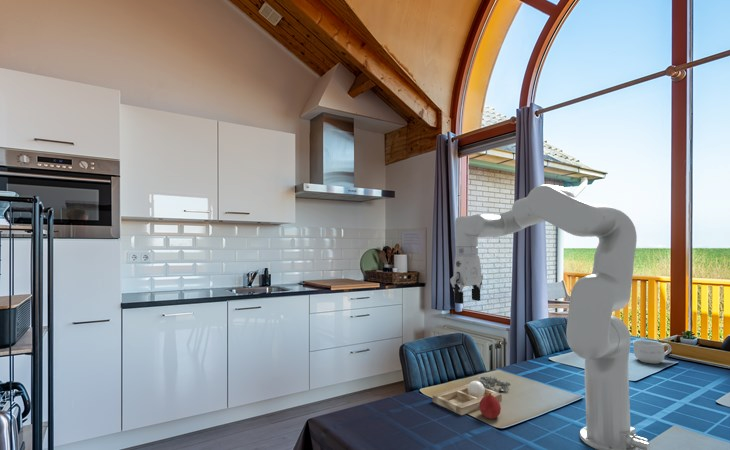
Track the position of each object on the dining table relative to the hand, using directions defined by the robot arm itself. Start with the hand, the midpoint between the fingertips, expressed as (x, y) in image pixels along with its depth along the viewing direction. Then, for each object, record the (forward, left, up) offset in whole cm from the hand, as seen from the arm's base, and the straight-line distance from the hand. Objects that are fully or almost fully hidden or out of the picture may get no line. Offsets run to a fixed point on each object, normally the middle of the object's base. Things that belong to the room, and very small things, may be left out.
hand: (467, 301), depth 136 cm
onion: (-19, +13, -30) cm, 38 cm away
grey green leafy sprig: (-5, -7, -31) cm, 32 cm away
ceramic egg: (-8, +6, -29) cm, 30 cm away
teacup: (-23, -86, -30) cm, 94 cm away
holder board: (-8, +10, -30) cm, 32 cm away
